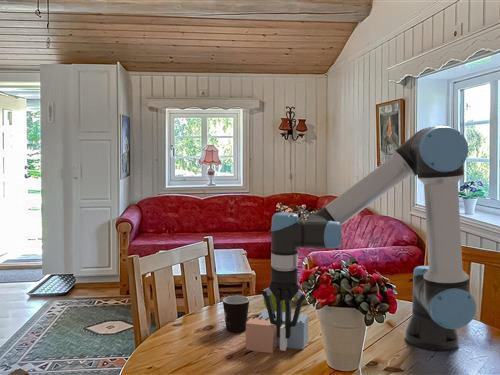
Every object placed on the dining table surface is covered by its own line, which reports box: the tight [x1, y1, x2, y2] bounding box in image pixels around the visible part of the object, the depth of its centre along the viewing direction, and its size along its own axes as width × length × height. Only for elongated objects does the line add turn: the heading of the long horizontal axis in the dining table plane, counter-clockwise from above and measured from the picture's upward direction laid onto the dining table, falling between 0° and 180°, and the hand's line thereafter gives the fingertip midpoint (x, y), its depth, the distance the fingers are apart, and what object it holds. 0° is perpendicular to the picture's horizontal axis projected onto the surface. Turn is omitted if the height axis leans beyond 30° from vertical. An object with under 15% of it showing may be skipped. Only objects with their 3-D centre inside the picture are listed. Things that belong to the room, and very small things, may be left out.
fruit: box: [263, 292, 285, 312], centre depth 172 cm, size 9×9×10 cm
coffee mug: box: [222, 295, 250, 335], centre depth 159 cm, size 12×9×10 cm
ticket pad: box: [257, 309, 309, 350], centre depth 148 cm, size 14×7×8 cm, turn 72°
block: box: [245, 317, 278, 354], centre depth 143 cm, size 8×5×8 cm, turn 72°
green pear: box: [292, 276, 309, 306], centre depth 186 cm, size 7×7×10 cm
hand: (283, 348), depth 140 cm, fingers closed
